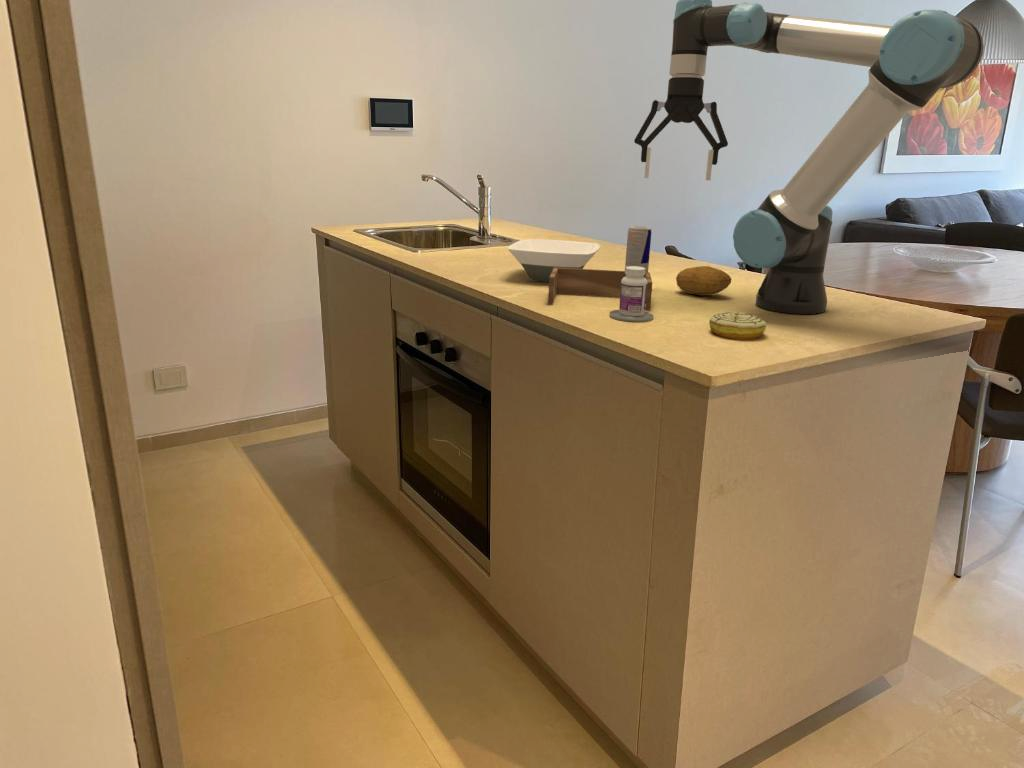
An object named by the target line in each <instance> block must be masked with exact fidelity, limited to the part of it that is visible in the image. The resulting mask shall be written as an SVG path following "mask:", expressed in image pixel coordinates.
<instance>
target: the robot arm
mask: <svg viewBox="0 0 1024 768" xmlns="http://www.w3.org/2000/svg"><path fill="white" fill-rule="evenodd" d="M672 21H673V22H672V24H673V26H672V27H673V28H672V29H673V30H672V43H671V45H672V46H671V48H672V49H671V54H670V63H669V76H671V78H669V79H668V83H667V84H668V86H667V96H666V101H659V100H657V99H654V100H653V101H652V102H651V108H650V112H649V113H648V115H647V117H646V118H645V121H644V122H643V124H642V126H641V127H640V129H639V131H638V133H637V135H636V136H635V138H634V140H633V142H634V143H635V144H636V145H638V146H640V148H641V153H640V162H642V163H645V167H644V178H645V179H649V175H650V174H649V173H650V165H651V164H650V161H651V151H652V147H650V146H649V145H650V144H651V143H652V142H653V141H654V140H655V138H656V137H658V135H659V134H660V133H661V132H662V131H663V130H664V129H665V128H666V126H668V124H670V123H671V121H672V122H673V123H677V124H679V123H685V124H690V123H693V122H694V124H695V125H696V126H697V128H698V129H699V131H700V132H701V134H702V135H703V136H704V138H705V140H707V142H708V143H709V145H710V147H711V148H712V149H708V154H707V161H706V163H707V164H706V171H705V173H706V174H705V181H710V182H711V178H712V177H711V176H712V169H713V166H714V165H715V166H717V164H718V159H719V150H720V149H723V148H726V147H728V145H729V142H728V140H727V137H726V134H725V131H724V128H723V126H722V123H721V121H720V119H719V118H720V117H719V115H718V111H717V110H718V108H717V107H718V104H717V102H716V101H712V102H704V101H703V100H704V99H703V95H704V85H705V80H704V78H703V76H705V75H706V66H707V58H708V57H707V55H708V49H709V48H708V47H721V46H727V47H728V46H733V47H738V48H742V49H743V48H744V49H747V50H748V49H749V50H754V51H758V52H760V53H766V54H771V53H772V54H781V55H785V56H793V57H800V58H807V59H813V60H820V61H828V62H834V63H840V64H841V63H842V64H848V65H854V66H863V67H867V68H868V67H869V69H868V84H867V85H866V86H865V87H864V89H863V90H862V91H861V92H860V94H859V95H858V96H857V97H856V99H855V100H854V101H853V102H852V104H851V105H850V106H849V107H848V109H846V111H845V112H844V114H843V115H842V116H841V118H839V119H838V121H837V122H836V123H835V125H833V127H832V129H830V131H829V132H828V133H827V135H826V136H825V137H824V138H823V139H822V141H821V142H820V143H819V144H818V146H817V147H816V148H815V149H814V150H813V152H812V153H811V154H810V155H809V156H808V158H807V159H806V160H805V162H803V164H802V165H801V166H800V167H799V169H798V170H797V172H796V173H794V175H793V176H792V177H791V179H790V180H789V182H787V184H786V185H785V186H784V187H783V188H782V189H775V190H772V191H771V192H769V194H768V195H767V197H766V198H765V199H764V200H763V201H762V202H761V204H760V205H759V207H758V208H756V209H754V210H750V211H749V212H747V213H744V214H743V215H741V217H740V218H739V219H738V220H737V222H736V224H735V225H734V229H733V233H732V238H733V247H734V248H733V249H734V251H735V253H736V255H737V256H738V258H739V259H740V260H741V261H742V262H744V264H746V265H748V266H749V267H751V268H752V267H753V268H757V269H761V268H762V269H767V272H766V274H765V277H764V278H763V281H762V283H761V285H760V287H759V289H758V291H757V293H756V296H755V304H754V305H756V306H757V307H759V308H762V309H765V310H768V311H772V312H779V313H786V314H793V315H794V314H795V315H814V314H815V315H817V314H816V313H818V314H823V313H825V312H826V311H827V307H828V296H827V290H826V284H825V281H824V280H825V279H824V271H825V265H826V260H827V255H828V254H827V253H828V247H829V242H830V237H831V236H830V235H831V229H832V226H833V209H832V208H831V207H830V206H829V205H828V204H829V203H830V202H831V201H832V200H833V199H834V197H835V196H836V195H837V194H838V193H839V192H840V191H841V190H842V188H843V187H844V186H845V184H847V183H848V182H849V180H850V179H851V178H852V176H854V174H855V173H856V172H857V171H858V170H859V169H860V167H861V166H862V165H863V164H864V163H865V162H866V160H867V159H868V158H869V157H870V156H871V155H872V153H873V152H874V151H875V150H876V149H877V148H878V147H879V146H880V145H881V143H883V141H884V140H885V139H886V138H887V137H888V135H889V134H890V133H891V132H892V130H893V129H894V128H895V127H896V126H897V125H898V124H899V123H900V122H901V121H902V119H903V118H904V117H905V116H906V115H907V114H908V113H909V112H911V111H916V110H922V109H923V108H924V107H925V106H926V105H927V104H928V103H929V101H931V99H932V98H933V97H934V95H936V93H938V91H940V89H948V88H951V87H954V86H957V85H958V84H960V83H962V82H964V81H966V80H967V79H968V78H969V77H970V76H971V75H973V73H975V71H976V70H977V69H978V67H979V64H980V63H981V61H982V58H983V54H984V48H985V47H984V46H985V45H984V38H983V36H982V33H981V31H980V30H979V29H978V28H977V27H976V26H975V25H974V23H972V22H970V21H968V20H966V19H965V18H964V19H963V18H960V17H958V16H955V15H953V14H951V13H950V12H948V11H946V10H941V9H922V10H917V11H913V12H911V13H908V14H906V15H905V16H902V18H900V19H899V20H897V21H896V22H895V23H894V24H893V25H892V26H891V25H887V24H886V25H885V24H884V25H883V24H876V23H875V24H874V23H865V22H858V21H847V20H839V19H838V20H837V19H830V18H821V17H811V16H802V15H801V16H800V15H791V14H790V15H789V14H784V13H775V12H769V11H768V12H767V11H766V10H765V9H764V7H763V5H762V4H760V3H759V2H750V3H749V2H741V3H738V4H729V5H728V4H727V5H718V6H713V1H712V0H677V2H676V4H675V12H674V18H673V20H672ZM663 108H664V110H665V112H666V113H667V115H666V116H665V117H664V119H663V120H662V121H661V122H660V123H659V124H658V125H657V126H656V127H655V129H654V130H653V131H652V132H651V133H650V134H649V135H648V136H647V137H646V139H644V140H643V137H644V135H645V134H646V131H647V130H648V128H649V126H650V125H651V123H652V122H653V120H654V118H655V116H656V114H657V112H660V111H661V110H662V109H663ZM704 109H705V110H706V113H708V114H709V115H710V119H711V122H712V124H713V127H714V129H715V132H716V135H717V138H718V140H719V142H717V140H716V138H715V137H714V136H713V134H712V132H711V131H710V130H709V128H708V127H707V126H706V125H705V123H704V122H703V120H702V118H701V117H700V114H701V113H702V111H703V110H704ZM648 146H649V147H648ZM824 311H825V312H824ZM822 312H823V313H822Z"/></svg>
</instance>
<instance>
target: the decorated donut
mask: <svg viewBox="0 0 1024 768" xmlns="http://www.w3.org/2000/svg"><path fill="white" fill-rule="evenodd" d="M708 324H709V328H710V331H711V332H712V333H713V334H714V335H717V336H720V337H721V338H726V339H731V338H732V340H742V339H746V340H747V339H750V340H754V339H758V338H760V337H761V336H762V335H763V334H764V332H765V331H766V329H767V325H768V323H767V322H766V321H765V320H763V319H762V318H760V317H759V316H757V315H754V314H750V313H749V314H748V313H743V312H739V311H728V312H722V313H721V312H719V313H716V314H713V315H711V316H710V317H709V323H708Z"/></svg>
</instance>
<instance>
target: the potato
mask: <svg viewBox="0 0 1024 768" xmlns="http://www.w3.org/2000/svg"><path fill="white" fill-rule="evenodd" d="M675 280H676V286H677V287H678V288H679V289H680V290H681V291H683V292H684V293H687V294H691V295H695V296H708V295H716V294H718V293H720V292H723V291H724V290H726V289H727V288H728V287H729V286H730V284H731V283H732V277H731V275H729V274H728V273H727V272H726V271H723V270H722V269H719V268H715V267H712V266H711V265H702V266H701V265H700V266H694V267H688V268H685V269H683V270H680V271H679V272H678V274H677V275H676V277H675Z"/></svg>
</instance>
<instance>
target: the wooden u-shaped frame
mask: <svg viewBox="0 0 1024 768" xmlns="http://www.w3.org/2000/svg"><path fill="white" fill-rule="evenodd" d="M625 276H626V274H625V270H611V269H610V270H608V269H607V270H606V269H592V268H591V269H590V268H583V269H574V268H555V267H554V269H553V271H552V273H551V275H550V277H549V282H548V295H547V296H548V297H547V300H548V301H547V303H548V304H547V306H553V305H554V303H555V300H556V297H557V295H568V296H585V297H600V298H601V297H604V298H619V299H620V291H621V280H622V279H623V278H624V277H625ZM643 277H644V278H646V279H647V282H648V285H647V297H646V309H645V312H649V311H651V305H652V304H651V303H652V293H653V292H652V291H653V280H652V277H651V272H649V271H648V272H645V275H644V276H643Z"/></svg>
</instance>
